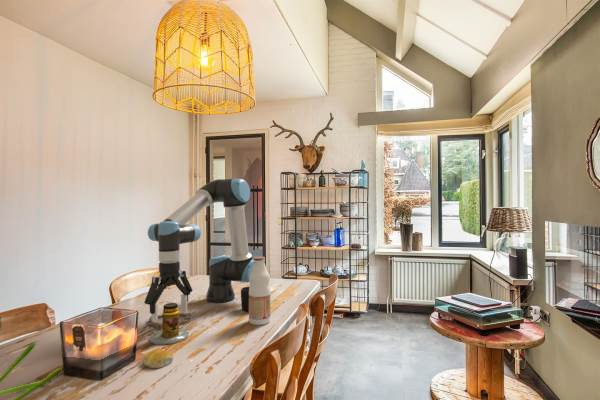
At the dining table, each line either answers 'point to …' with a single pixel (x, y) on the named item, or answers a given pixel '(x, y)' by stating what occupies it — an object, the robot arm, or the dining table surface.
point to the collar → (187, 319)
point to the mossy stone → (158, 358)
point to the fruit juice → (259, 293)
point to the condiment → (170, 322)
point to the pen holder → (245, 299)
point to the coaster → (168, 341)
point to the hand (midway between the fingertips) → (170, 316)
